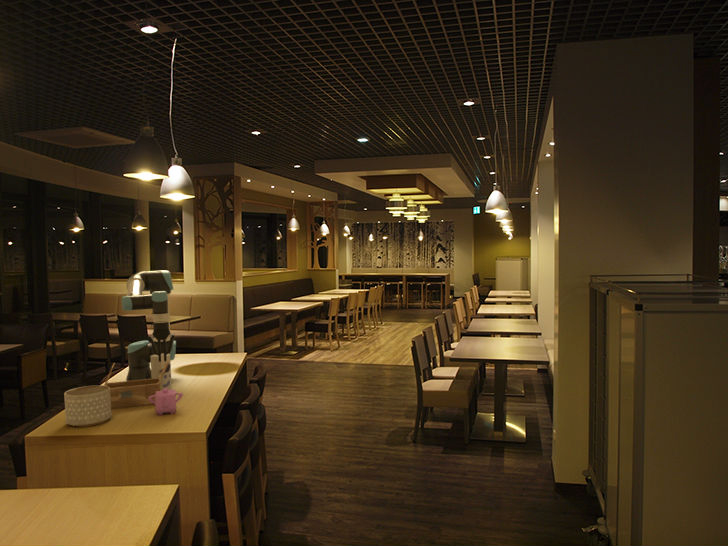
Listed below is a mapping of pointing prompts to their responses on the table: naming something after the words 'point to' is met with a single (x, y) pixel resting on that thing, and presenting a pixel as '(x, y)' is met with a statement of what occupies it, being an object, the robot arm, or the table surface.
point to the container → (157, 371)
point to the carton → (133, 392)
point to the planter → (87, 405)
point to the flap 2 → (164, 370)
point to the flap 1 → (109, 374)
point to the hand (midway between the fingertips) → (163, 367)
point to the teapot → (165, 401)
